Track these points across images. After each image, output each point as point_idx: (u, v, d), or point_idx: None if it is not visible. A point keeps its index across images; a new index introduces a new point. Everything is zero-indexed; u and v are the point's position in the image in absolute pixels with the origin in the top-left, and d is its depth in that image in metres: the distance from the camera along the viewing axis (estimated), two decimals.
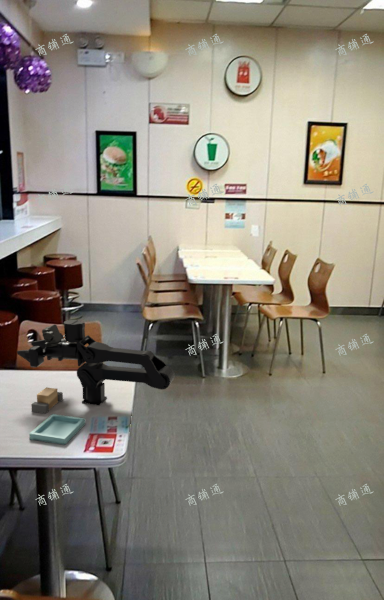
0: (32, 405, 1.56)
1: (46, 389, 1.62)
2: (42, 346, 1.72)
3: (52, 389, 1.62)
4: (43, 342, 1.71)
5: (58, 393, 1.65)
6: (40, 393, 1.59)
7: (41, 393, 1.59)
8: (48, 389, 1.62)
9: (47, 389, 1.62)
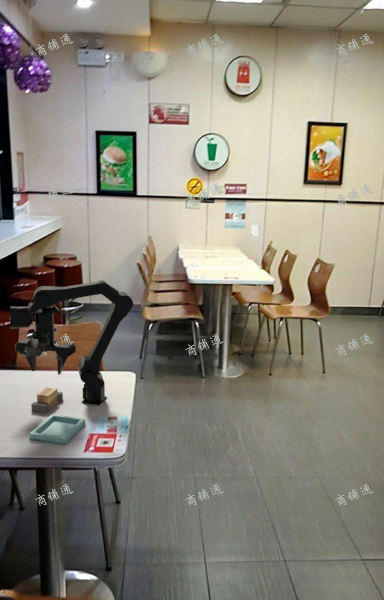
0: (32, 405, 1.56)
1: (46, 389, 1.62)
2: (34, 358, 1.60)
3: (52, 389, 1.62)
4: (31, 359, 1.59)
5: (58, 393, 1.65)
6: (40, 393, 1.59)
7: (41, 393, 1.59)
8: (48, 389, 1.62)
9: (47, 389, 1.62)
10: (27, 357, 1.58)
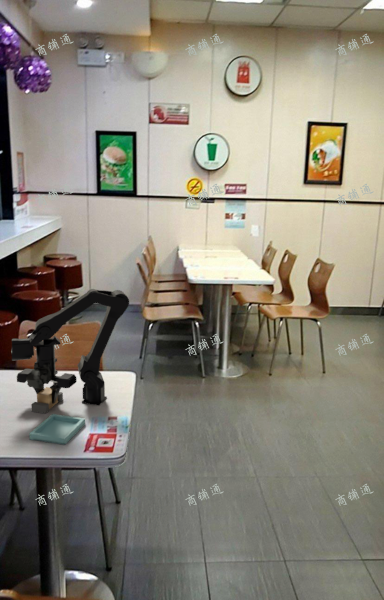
0: (32, 405, 1.56)
1: (46, 389, 1.62)
2: (42, 389, 1.62)
3: None
4: (39, 390, 1.60)
5: None
6: (40, 393, 1.59)
7: (41, 393, 1.59)
8: (48, 389, 1.62)
9: (47, 389, 1.62)
10: (35, 388, 1.59)
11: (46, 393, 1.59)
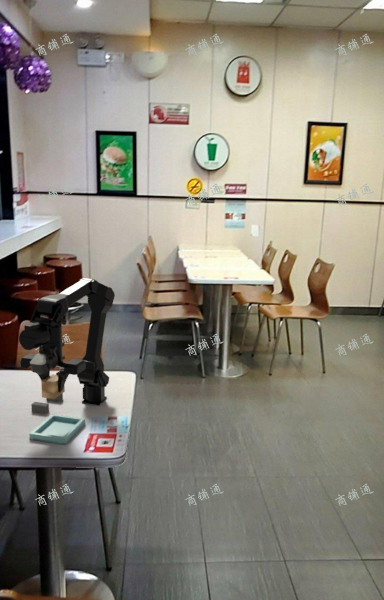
0: (32, 405, 1.56)
1: (52, 376, 1.46)
2: (47, 376, 1.46)
3: None
4: (44, 377, 1.44)
5: None
6: (45, 380, 1.43)
7: (46, 380, 1.43)
8: (54, 376, 1.46)
9: (53, 376, 1.46)
10: (40, 375, 1.44)
11: (52, 380, 1.43)
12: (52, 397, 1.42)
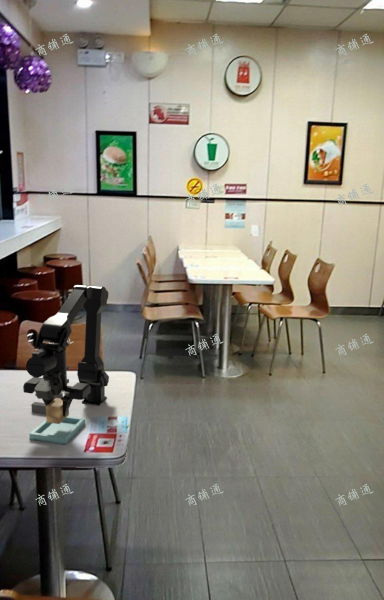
0: (32, 405, 1.56)
1: (56, 400, 1.44)
2: (51, 400, 1.44)
3: None
4: (49, 401, 1.43)
5: None
6: (49, 405, 1.41)
7: (51, 405, 1.41)
8: (59, 400, 1.44)
9: (57, 400, 1.44)
10: (44, 399, 1.42)
11: (56, 405, 1.41)
12: (57, 422, 1.40)
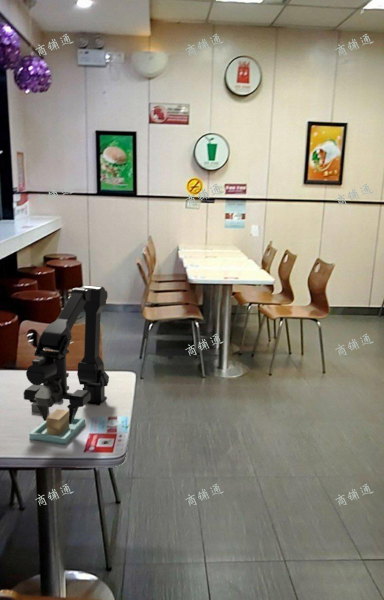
0: (32, 405, 1.56)
1: (56, 411, 1.45)
2: (46, 406, 1.45)
3: (63, 411, 1.45)
4: (43, 407, 1.43)
5: None
6: (50, 416, 1.42)
7: (51, 416, 1.42)
8: (59, 412, 1.45)
9: (57, 411, 1.45)
10: (38, 406, 1.43)
11: (57, 417, 1.42)
12: (57, 433, 1.41)
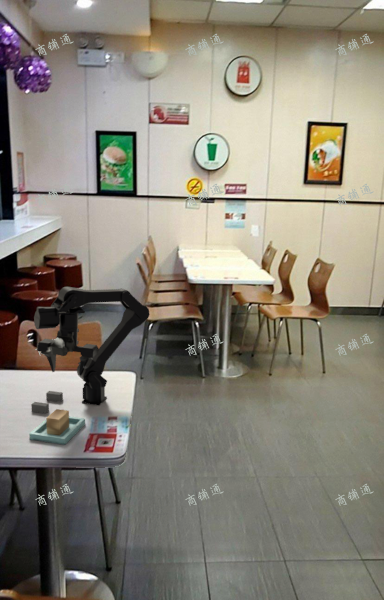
0: (32, 405, 1.56)
1: (56, 411, 1.45)
2: (54, 359, 1.59)
3: (63, 411, 1.45)
4: (52, 359, 1.58)
5: (58, 393, 1.65)
6: (50, 416, 1.42)
7: (51, 416, 1.42)
8: (59, 412, 1.45)
9: (57, 411, 1.45)
10: (48, 357, 1.57)
11: (57, 417, 1.42)
12: (57, 433, 1.41)
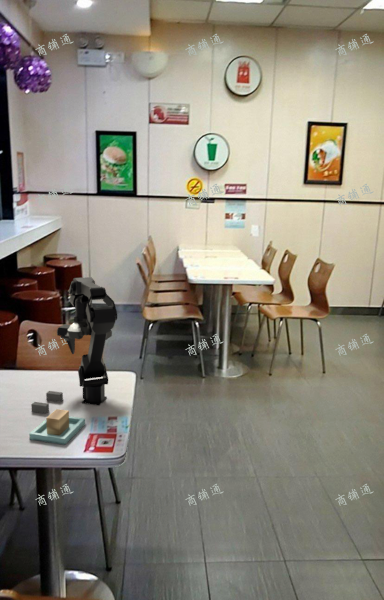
0: (32, 405, 1.56)
1: (56, 411, 1.45)
2: (73, 342, 1.76)
3: (63, 411, 1.45)
4: (71, 343, 1.74)
5: (58, 393, 1.65)
6: (50, 416, 1.42)
7: (51, 416, 1.42)
8: (59, 412, 1.45)
9: (57, 411, 1.45)
10: (67, 341, 1.74)
11: (57, 417, 1.42)
12: (57, 433, 1.41)
